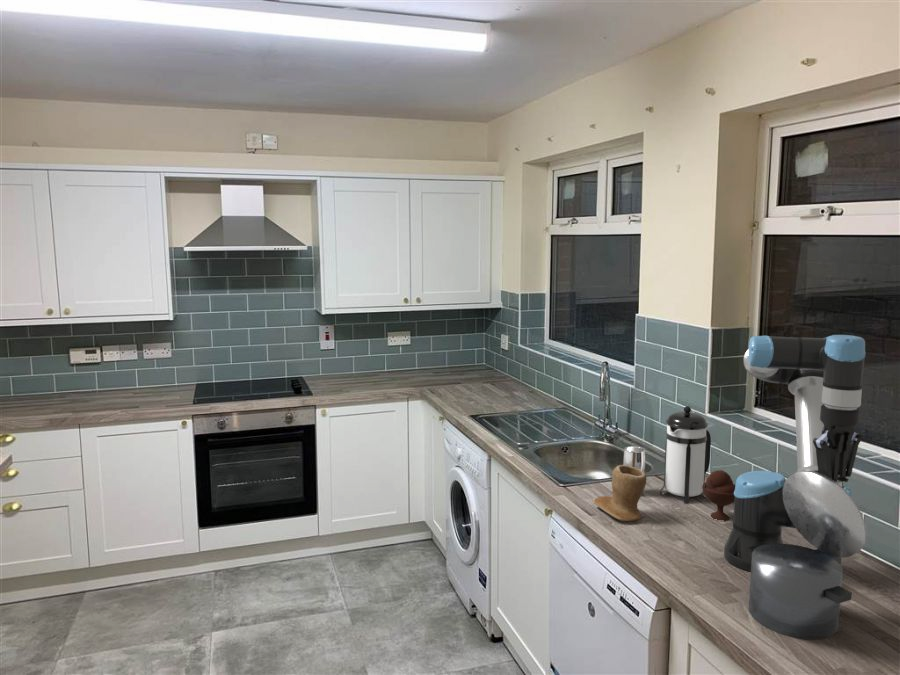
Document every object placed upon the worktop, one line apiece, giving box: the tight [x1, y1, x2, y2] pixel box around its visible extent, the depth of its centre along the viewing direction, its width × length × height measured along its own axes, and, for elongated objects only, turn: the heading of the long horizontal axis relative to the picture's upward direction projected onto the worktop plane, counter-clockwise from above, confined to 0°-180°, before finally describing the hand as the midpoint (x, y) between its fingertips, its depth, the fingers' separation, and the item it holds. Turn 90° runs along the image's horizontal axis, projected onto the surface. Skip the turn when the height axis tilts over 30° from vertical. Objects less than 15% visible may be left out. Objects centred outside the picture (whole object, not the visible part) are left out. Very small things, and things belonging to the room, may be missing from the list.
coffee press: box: [659, 405, 712, 504], centre depth 224 cm, size 17×16×30 cm
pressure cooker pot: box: [746, 543, 853, 640], centre depth 153 cm, size 20×24×13 cm
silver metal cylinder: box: [622, 445, 646, 473], centre depth 226 cm, size 7×7×15 cm
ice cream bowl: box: [702, 469, 736, 522], centre depth 206 cm, size 11×11×15 cm
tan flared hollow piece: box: [592, 464, 647, 522], centre depth 209 cm, size 15×12×15 cm
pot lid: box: [783, 470, 867, 559], centre depth 153 cm, size 20×20×3 cm
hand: (832, 508), depth 154 cm, fingers closed
